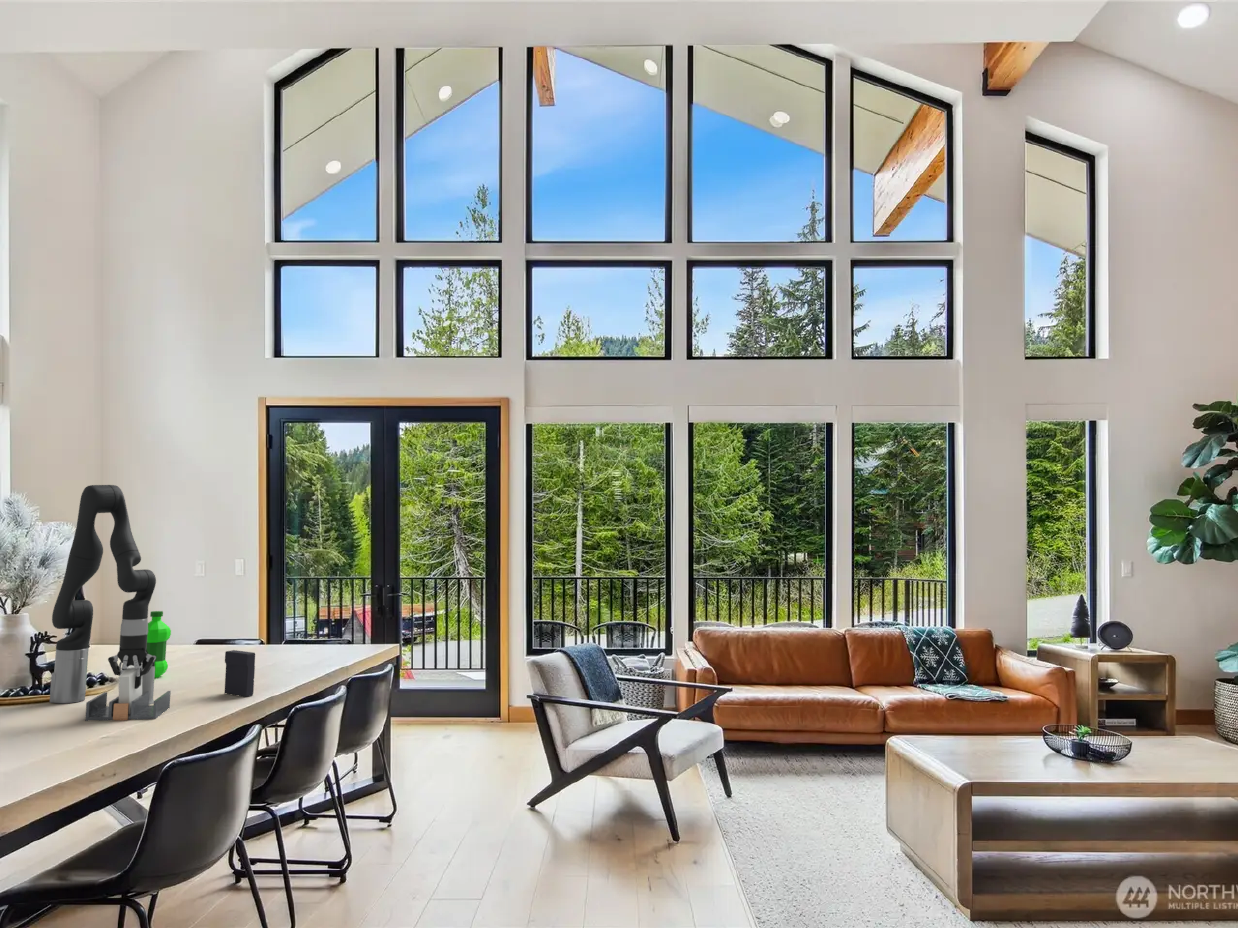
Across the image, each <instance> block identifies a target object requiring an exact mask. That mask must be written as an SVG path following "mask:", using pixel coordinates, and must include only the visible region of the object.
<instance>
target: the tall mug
mask: <svg viewBox="0 0 1238 928" xmlns="http://www.w3.org/2000/svg"><path fill="white" fill-rule="evenodd" d="M147 663H148V662H147V658H145V659H144V660H143V661H142V671H143V670H144V668H145V666H146V665H147ZM122 664H123V663H122V662H121V661H120V662H119V663H118V666H119V668H120V670H122V669H121V668H122ZM154 677H155V661H154V663H153V665H152V667H151V669H150V670H149V672H148V673H147V674H145V675H142V694H144V693H145V692H147V691H150V696H149V705H154V701H155V699H154V691H155V678H154Z"/></svg>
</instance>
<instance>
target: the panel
mask: <svg viewBox="0 0 1238 928" xmlns="http://www.w3.org/2000/svg"><path fill="white" fill-rule="evenodd" d="M135 677H136V670H135V669H134V666H132V665H130V666H129V667H128V668H127V669H126V670H125V671H124V672H123V673H122V674H121V675H120V676H118V696H119V703H129V712H128V714H130V713H131V704H132V701H133V700H135V699H136V698H138V697H139V696H141V695H142V679H141V686H139V688H137V689H135Z"/></svg>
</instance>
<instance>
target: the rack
mask: <svg viewBox="0 0 1238 928" xmlns="http://www.w3.org/2000/svg"><path fill="white" fill-rule="evenodd" d="M171 694H172V693H171V690H167V691H166V692H164V693H163V694H162V695H160V696H159V697H157V698H156V699H154V703H153V704H150V705H149V696H150V691H147V692H145V693H144V694H142V695H141V696H139V697H138V698H136V699H135V700H133V701H132V704H131V713H130V714H128V712H129V703H119V695H118V696H117V697H115V698H113V699H111V700H110V701H109V702H108V706H107V701H108V700H107V699H108V692H107V691H106V692H105V691H104V692H102V693H101V694H99V695H97V696H96V697H94V698H92V699H90V700H88V701H87V702H86V704H85V705H86V706H85V717H84V718H85V722H89V721H88V720H99V721H113V720H115V721H130V720H131V719H135V720H156V719H157V718H158V716H159V717H160V716H161V715H162V713H163V712H164V713H165V712H167V711H168V710H169V709H170V707H171V706H170V705H171ZM168 708H169V709H168ZM167 709H168V710H167ZM164 713H163V714H164ZM131 721H132V720H131Z"/></svg>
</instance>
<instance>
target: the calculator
mask: <svg viewBox="0 0 1238 928" xmlns="http://www.w3.org/2000/svg"><path fill="white" fill-rule="evenodd" d="M224 663H225V677H224V694H225V693H227V694H226V695H230V694H232V695H231V696H236V695H239V696H238V697H242V696H245V697H244V698H247V696H248V697H252V696H253V695H254V693H255V692H254V689H255V688H254V687H255V673H256V672H255V671H256V666H255V664H256V653H255V652H252V651H243V650H238V649H236V650H235V649H233V650H226V651H225V652H224Z"/></svg>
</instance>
